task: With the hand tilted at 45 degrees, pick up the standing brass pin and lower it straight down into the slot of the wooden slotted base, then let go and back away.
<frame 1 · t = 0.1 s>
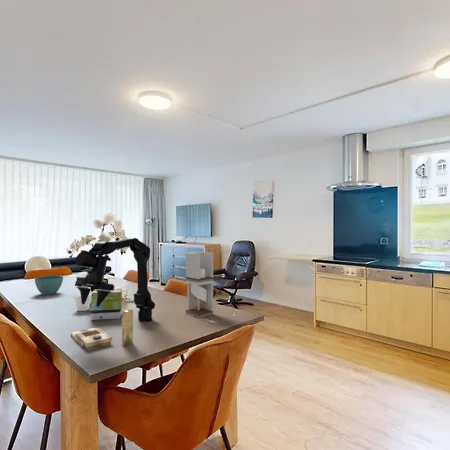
hand: (90, 305, 129), 15 cm above the table, tool pointing down, fingers open, 9 cm apart
wooden slotted base: (90, 340, 130), on the table
brass pin: (127, 344, 126), on the table
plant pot: (49, 294, 222), on the table
cup: (83, 310, 178), on the table
adjustable wrench: (137, 304, 195), on the table
display case: (199, 314, 171), on the table
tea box: (106, 317, 164), on the table
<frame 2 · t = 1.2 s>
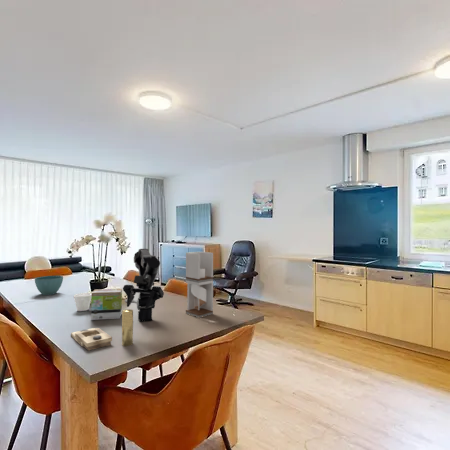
hand: (136, 307, 134), 13 cm above the table, tool tilted 45°, fingers open, 9 cm apart
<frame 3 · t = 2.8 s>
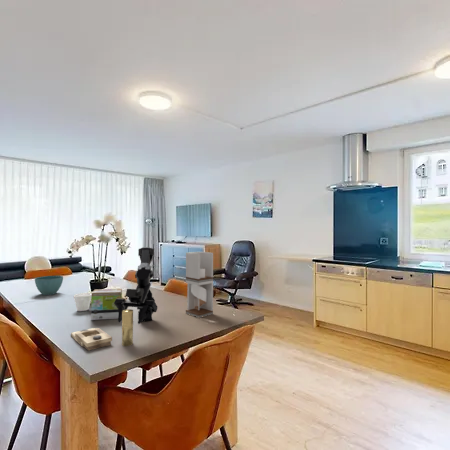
hand: (128, 322, 127), 9 cm above the table, tool tilted 45°, fingers open, 9 cm apart
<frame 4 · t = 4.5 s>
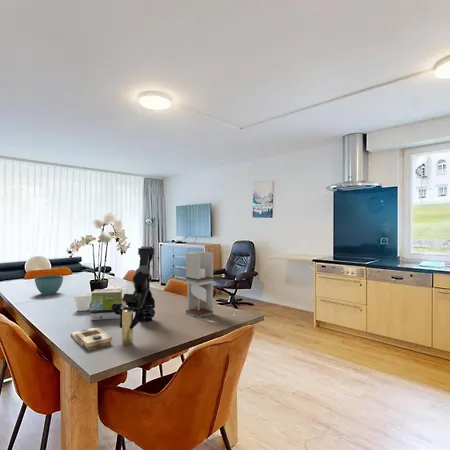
hand: (125, 328, 125), 7 cm above the table, tool tilted 45°, fingers closed on brass pin, 4 cm apart
brass pin: (127, 344, 126), on the table, touching gripper
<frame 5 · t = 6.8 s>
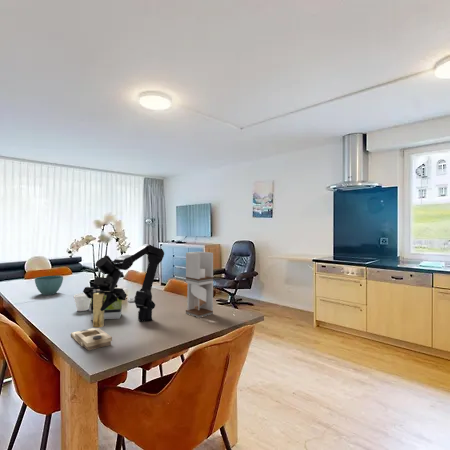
hand: (96, 310, 128), 14 cm above the table, tool tilted 45°, fingers closed on brass pin, 4 cm apart
brass pin: (98, 325, 129), point 7 cm above the table, touching gripper
when the fingers open (8 cm above the table, at t = 9.2 s): brass pin stays where it is, resting in wooden slotted base.
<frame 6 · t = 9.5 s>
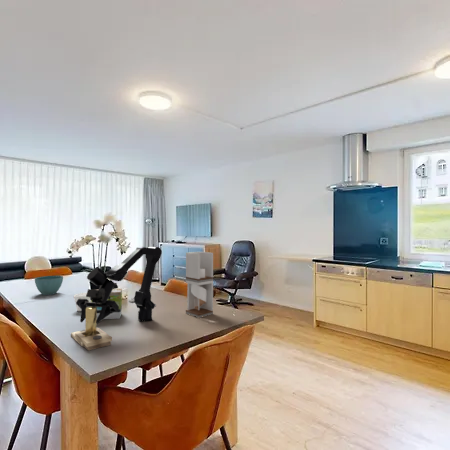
hand: (88, 322, 129), 8 cm above the table, tool tilted 45°, fingers open, 7 cm apart
brass pin: (90, 340, 130), resting in wooden slotted base
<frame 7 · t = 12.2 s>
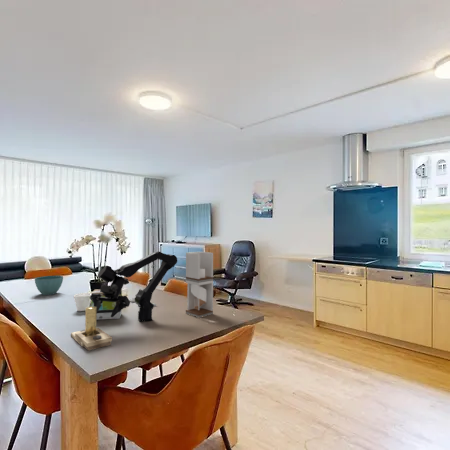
hand: (102, 316, 138), 8 cm above the table, tool tilted 45°, fingers open, 9 cm apart
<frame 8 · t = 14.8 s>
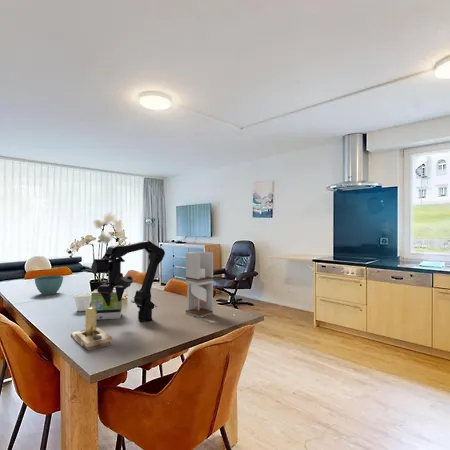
hand: (114, 303, 146), 12 cm above the table, tool pointing down, fingers open, 9 cm apart
at the end: brass pin 0.1 cm off-centre on the wooden slotted base, point 0.0 cm above the wooden slotted base's base; brass pin tilted 0°; the gripper is holding nothing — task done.
